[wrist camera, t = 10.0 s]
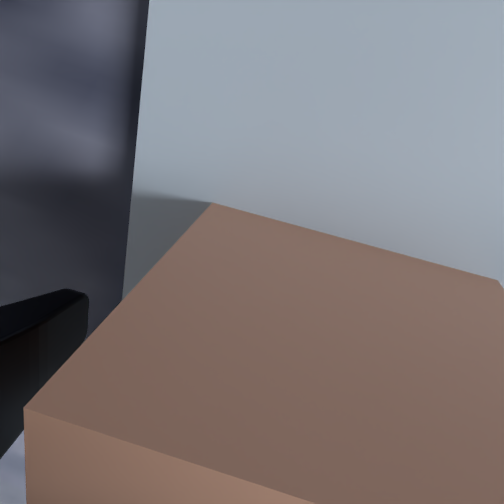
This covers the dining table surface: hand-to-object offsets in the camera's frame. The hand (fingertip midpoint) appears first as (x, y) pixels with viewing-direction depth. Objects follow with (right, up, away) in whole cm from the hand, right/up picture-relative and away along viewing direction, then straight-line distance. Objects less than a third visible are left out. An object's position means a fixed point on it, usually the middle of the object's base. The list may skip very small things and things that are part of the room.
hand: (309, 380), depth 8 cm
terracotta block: (0, 0, +1) cm, 1 cm away
